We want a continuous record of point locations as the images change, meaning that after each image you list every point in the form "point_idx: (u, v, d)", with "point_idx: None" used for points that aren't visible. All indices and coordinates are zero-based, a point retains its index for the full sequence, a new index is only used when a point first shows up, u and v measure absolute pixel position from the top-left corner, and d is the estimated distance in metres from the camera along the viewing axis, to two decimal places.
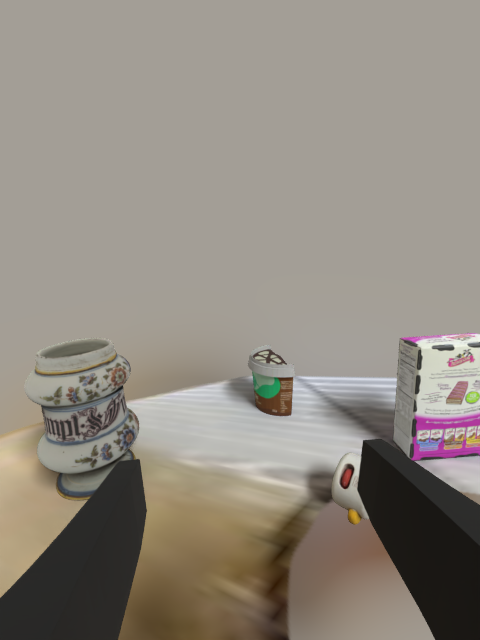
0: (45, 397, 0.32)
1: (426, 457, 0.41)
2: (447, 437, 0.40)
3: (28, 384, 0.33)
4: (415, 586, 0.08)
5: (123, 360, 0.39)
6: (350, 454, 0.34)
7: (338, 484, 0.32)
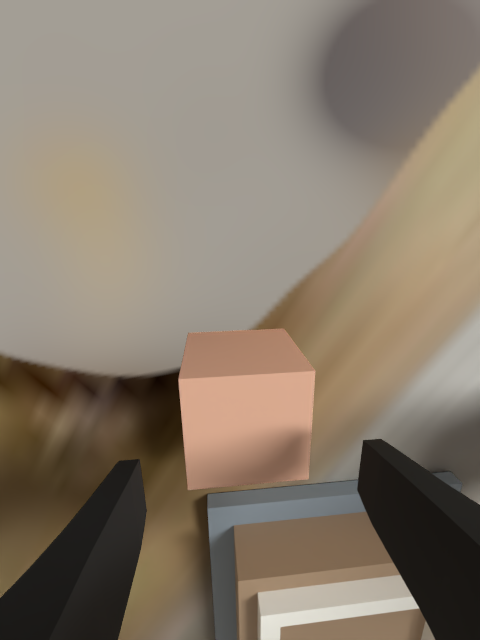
0: None
1: None
2: None
3: None
4: (415, 586, 0.08)
5: None
6: None
7: None
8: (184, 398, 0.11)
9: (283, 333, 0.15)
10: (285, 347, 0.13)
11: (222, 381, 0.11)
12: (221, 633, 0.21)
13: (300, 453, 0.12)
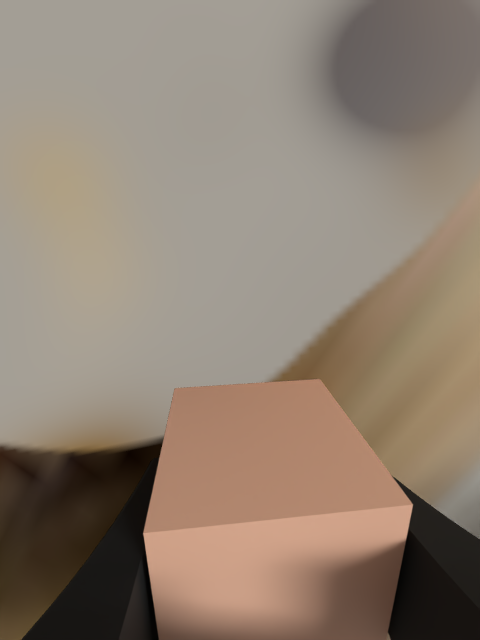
0: None
1: None
2: None
3: None
4: None
5: None
6: None
7: None
8: (157, 565, 0.05)
9: (322, 391, 0.10)
10: (334, 426, 0.08)
11: (232, 530, 0.05)
12: None
13: (371, 632, 0.07)
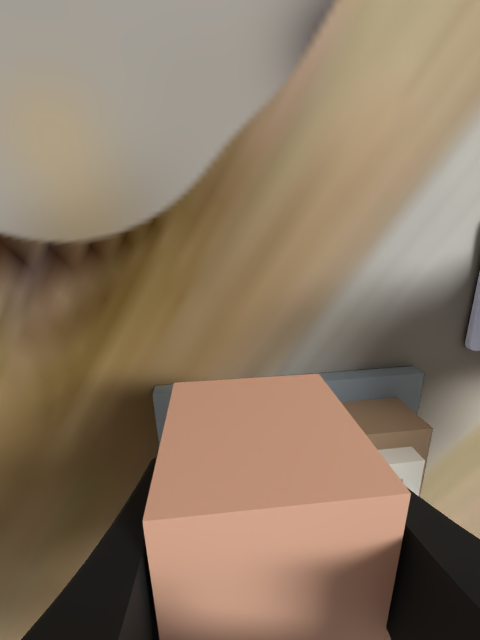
0: None
1: None
2: None
3: None
4: None
5: None
6: None
7: None
8: (156, 553, 0.05)
9: (321, 385, 0.10)
10: (333, 419, 0.08)
11: (231, 519, 0.05)
12: None
13: (370, 623, 0.07)
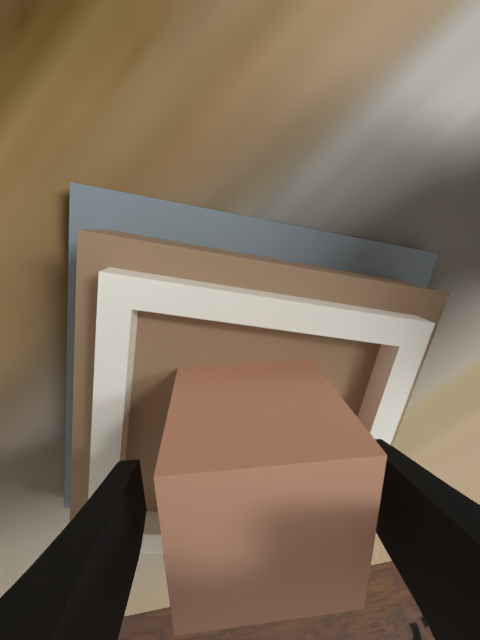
0: None
1: None
2: None
3: None
4: (415, 586, 0.08)
5: None
6: None
7: None
8: (165, 506, 0.06)
9: (313, 369, 0.10)
10: (323, 397, 0.09)
11: (230, 476, 0.06)
12: None
13: (353, 575, 0.08)
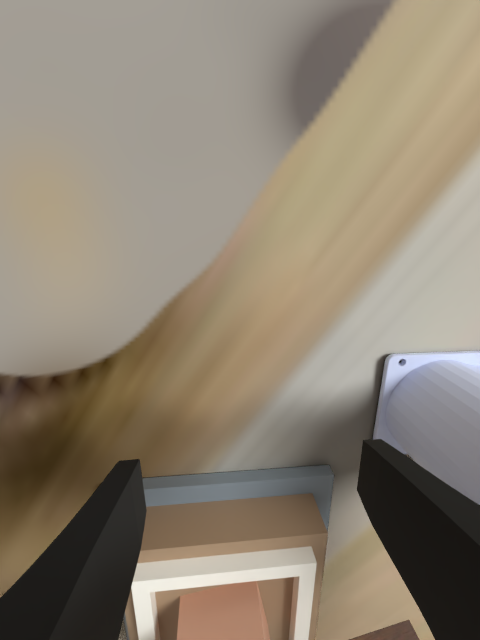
0: None
1: None
2: None
3: None
4: (415, 586, 0.08)
5: None
6: None
7: None
8: None
9: (254, 592, 0.19)
10: (253, 630, 0.17)
11: None
12: None
13: None
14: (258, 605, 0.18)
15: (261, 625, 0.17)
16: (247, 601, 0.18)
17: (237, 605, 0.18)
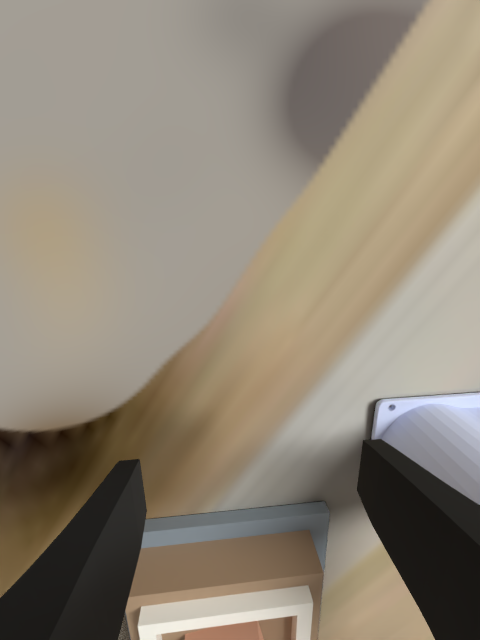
0: None
1: None
2: None
3: None
4: (415, 586, 0.08)
5: None
6: None
7: None
8: None
9: (254, 630, 0.20)
10: None
11: None
12: None
13: None
14: None
15: None
16: (248, 639, 0.19)
17: None
